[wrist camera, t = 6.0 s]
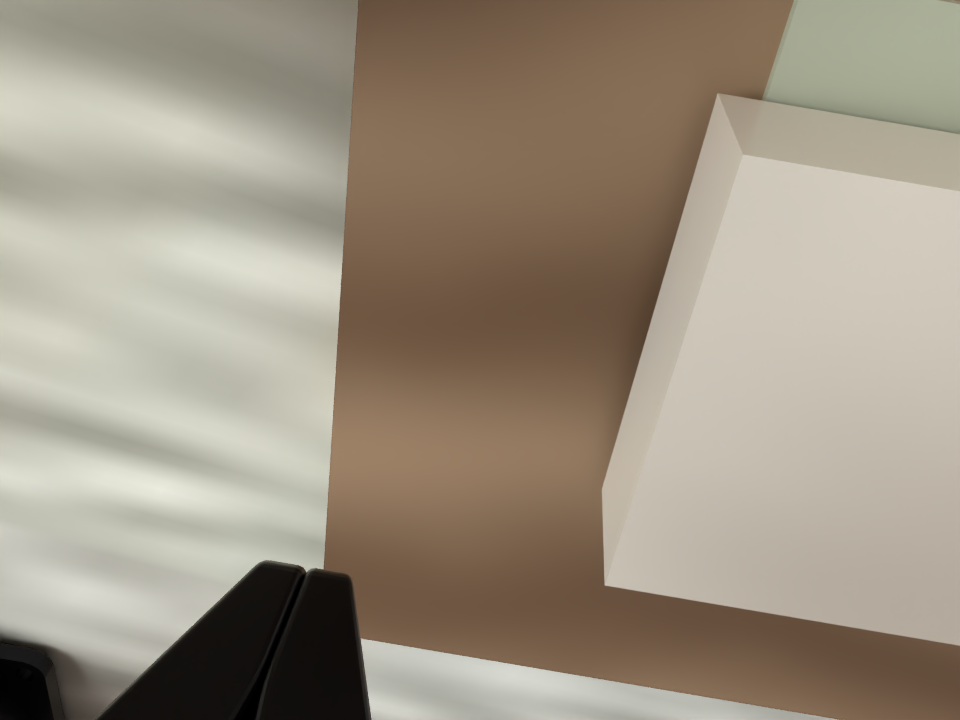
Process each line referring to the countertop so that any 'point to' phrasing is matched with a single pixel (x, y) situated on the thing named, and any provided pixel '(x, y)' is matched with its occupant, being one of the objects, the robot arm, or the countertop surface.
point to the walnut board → (571, 323)
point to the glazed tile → (802, 380)
